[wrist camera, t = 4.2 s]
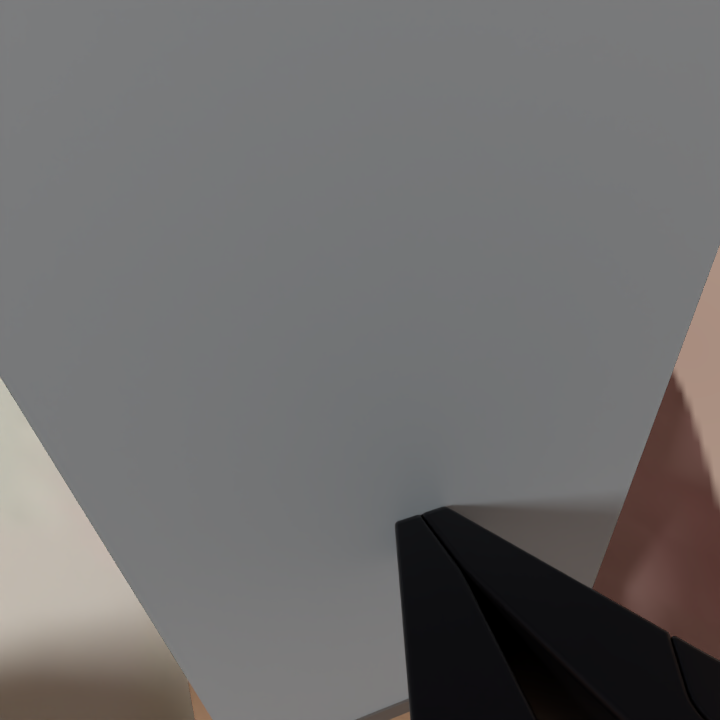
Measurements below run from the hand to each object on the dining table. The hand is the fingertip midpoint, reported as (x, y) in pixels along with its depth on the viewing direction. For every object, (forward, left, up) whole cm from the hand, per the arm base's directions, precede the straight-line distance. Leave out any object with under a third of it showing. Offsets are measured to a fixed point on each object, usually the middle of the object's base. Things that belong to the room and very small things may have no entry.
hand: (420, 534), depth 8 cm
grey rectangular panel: (-3, +1, -6) cm, 7 cm away
